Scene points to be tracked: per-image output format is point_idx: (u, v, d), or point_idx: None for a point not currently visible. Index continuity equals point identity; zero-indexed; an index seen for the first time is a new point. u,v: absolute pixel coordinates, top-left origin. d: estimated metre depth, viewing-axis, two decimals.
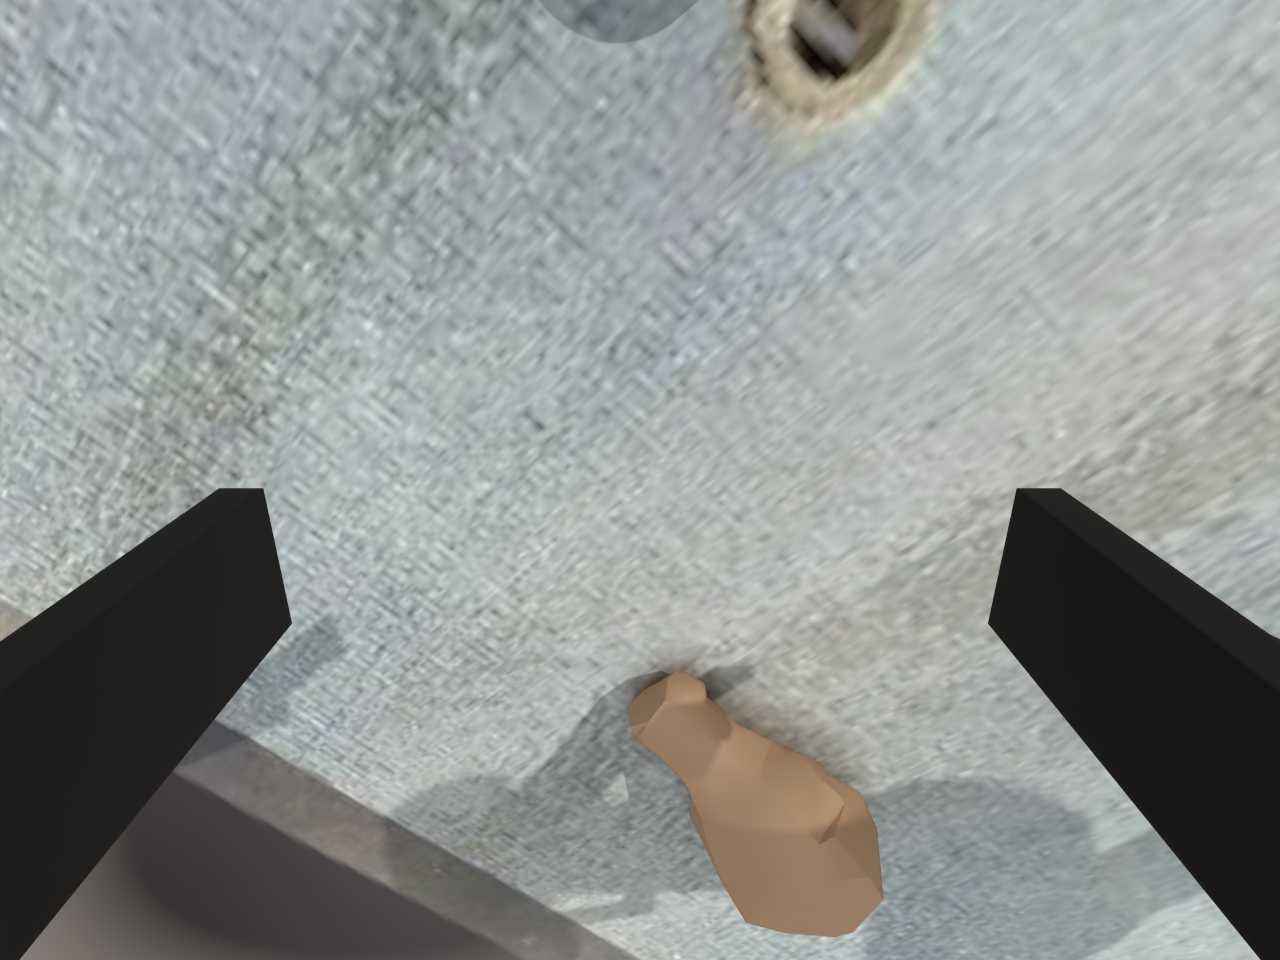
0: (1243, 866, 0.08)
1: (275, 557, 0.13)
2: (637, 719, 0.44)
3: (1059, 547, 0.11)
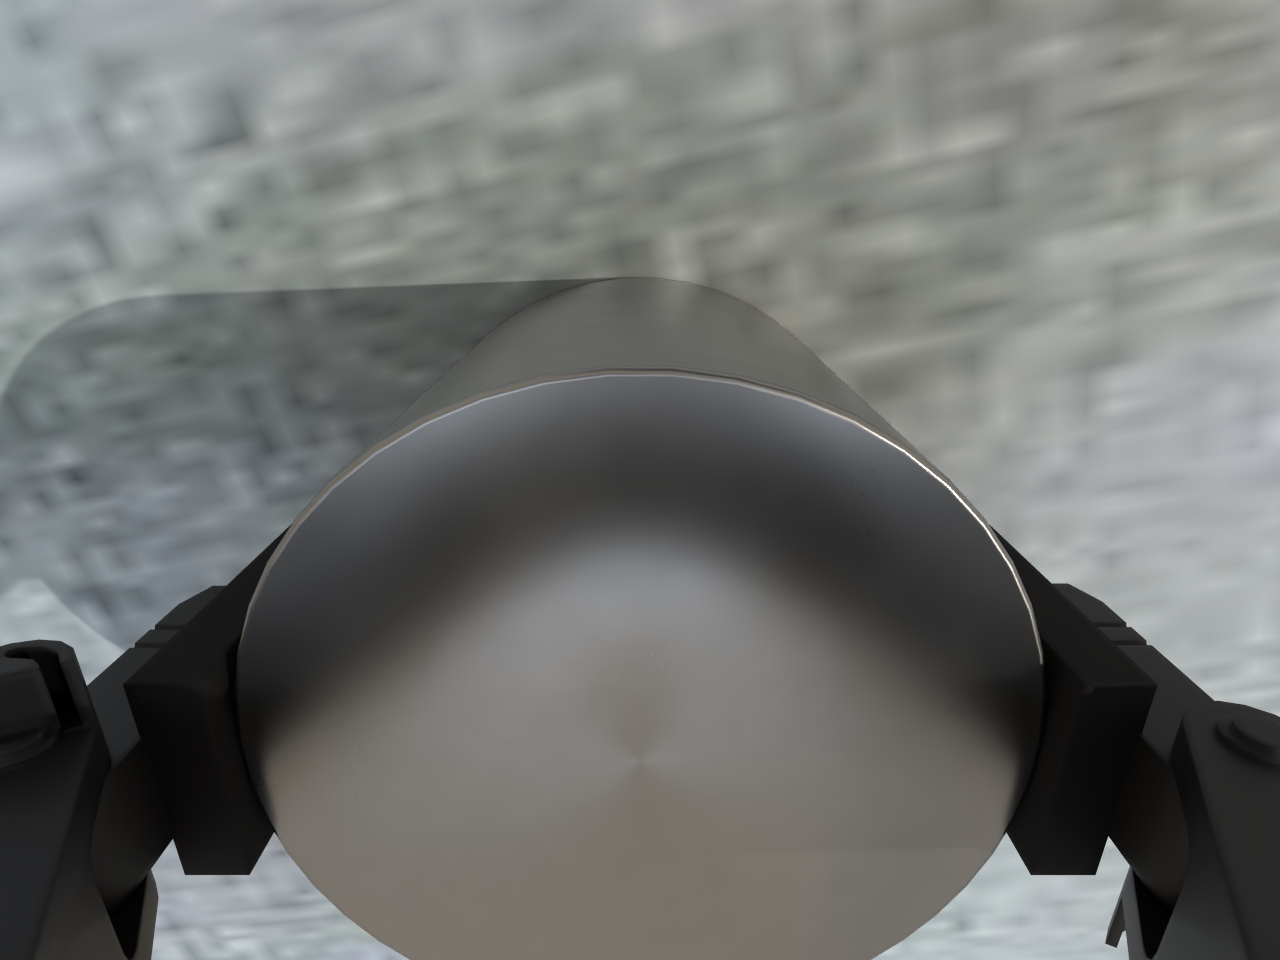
0: None
1: None
2: None
3: None
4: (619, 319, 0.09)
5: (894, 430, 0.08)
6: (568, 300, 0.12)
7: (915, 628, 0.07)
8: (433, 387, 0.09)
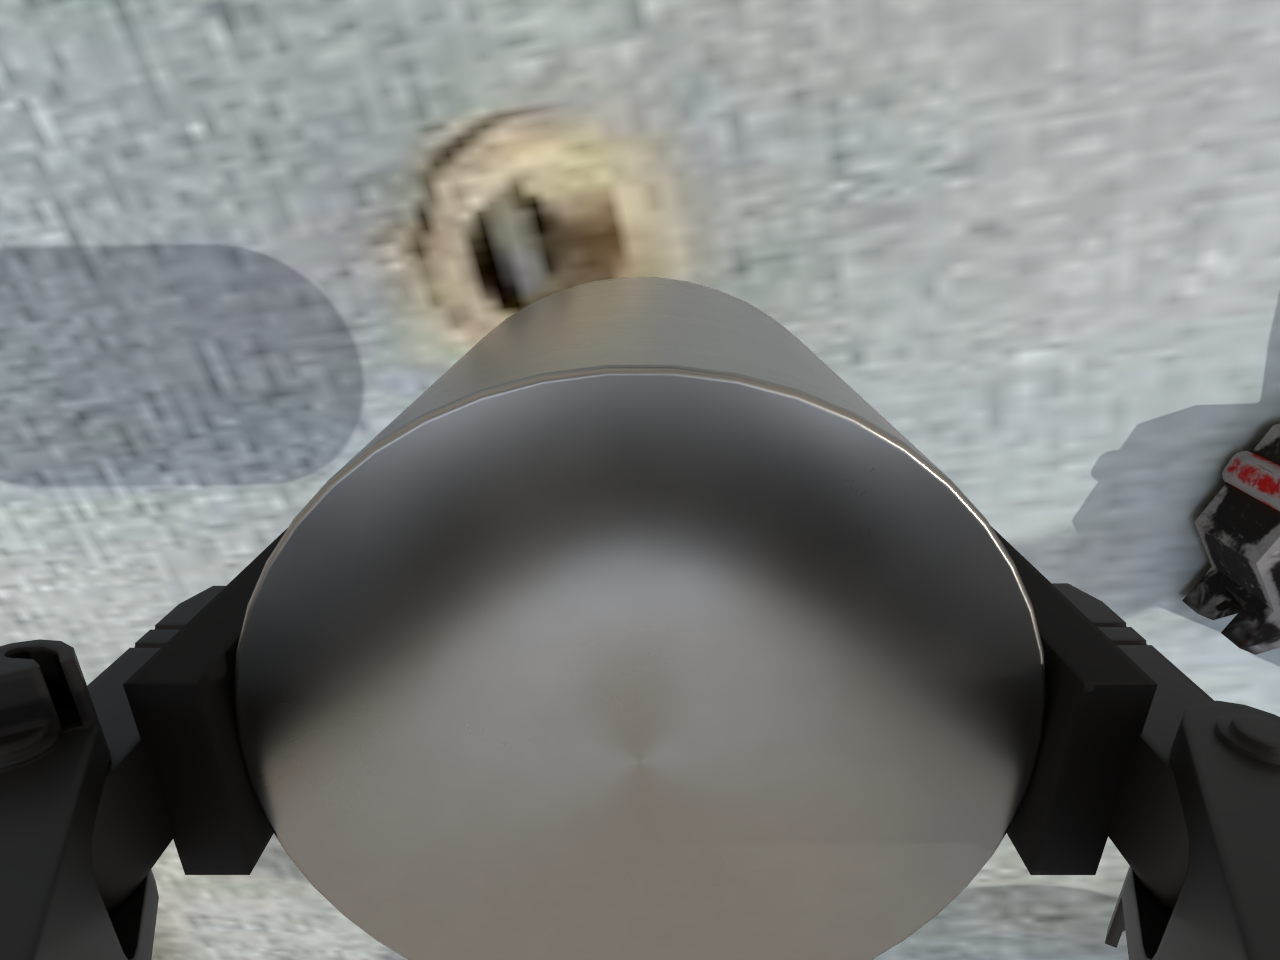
0: None
1: None
2: None
3: None
4: (619, 318, 0.09)
5: (894, 429, 0.08)
6: (568, 299, 0.12)
7: (916, 627, 0.07)
8: (432, 386, 0.09)
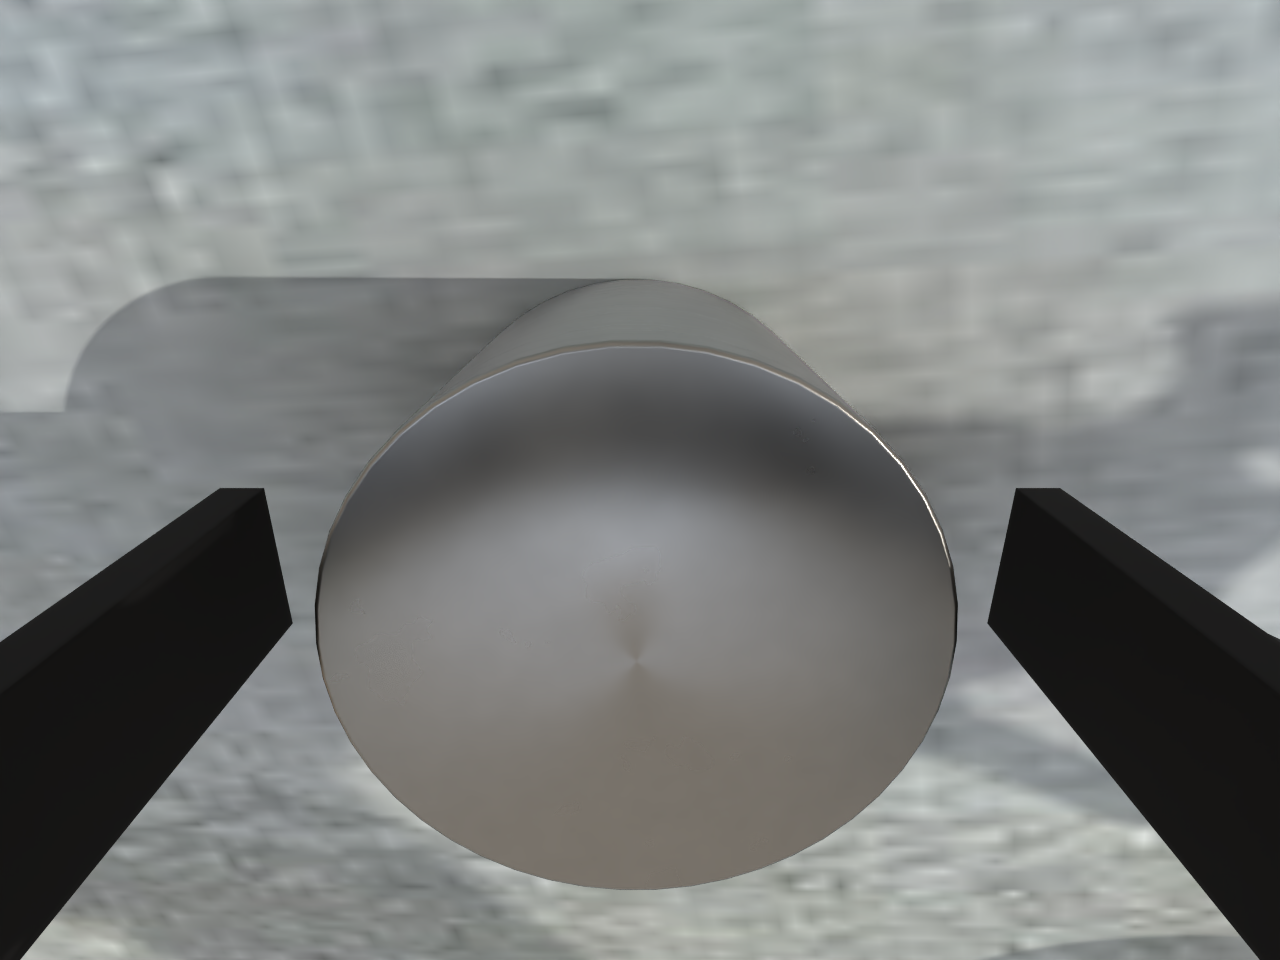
0: (1242, 865, 0.08)
1: (275, 557, 0.13)
2: None
3: (1059, 548, 0.11)
4: (619, 310, 0.11)
5: (837, 395, 0.10)
6: (576, 297, 0.14)
7: (851, 548, 0.10)
8: (468, 366, 0.11)
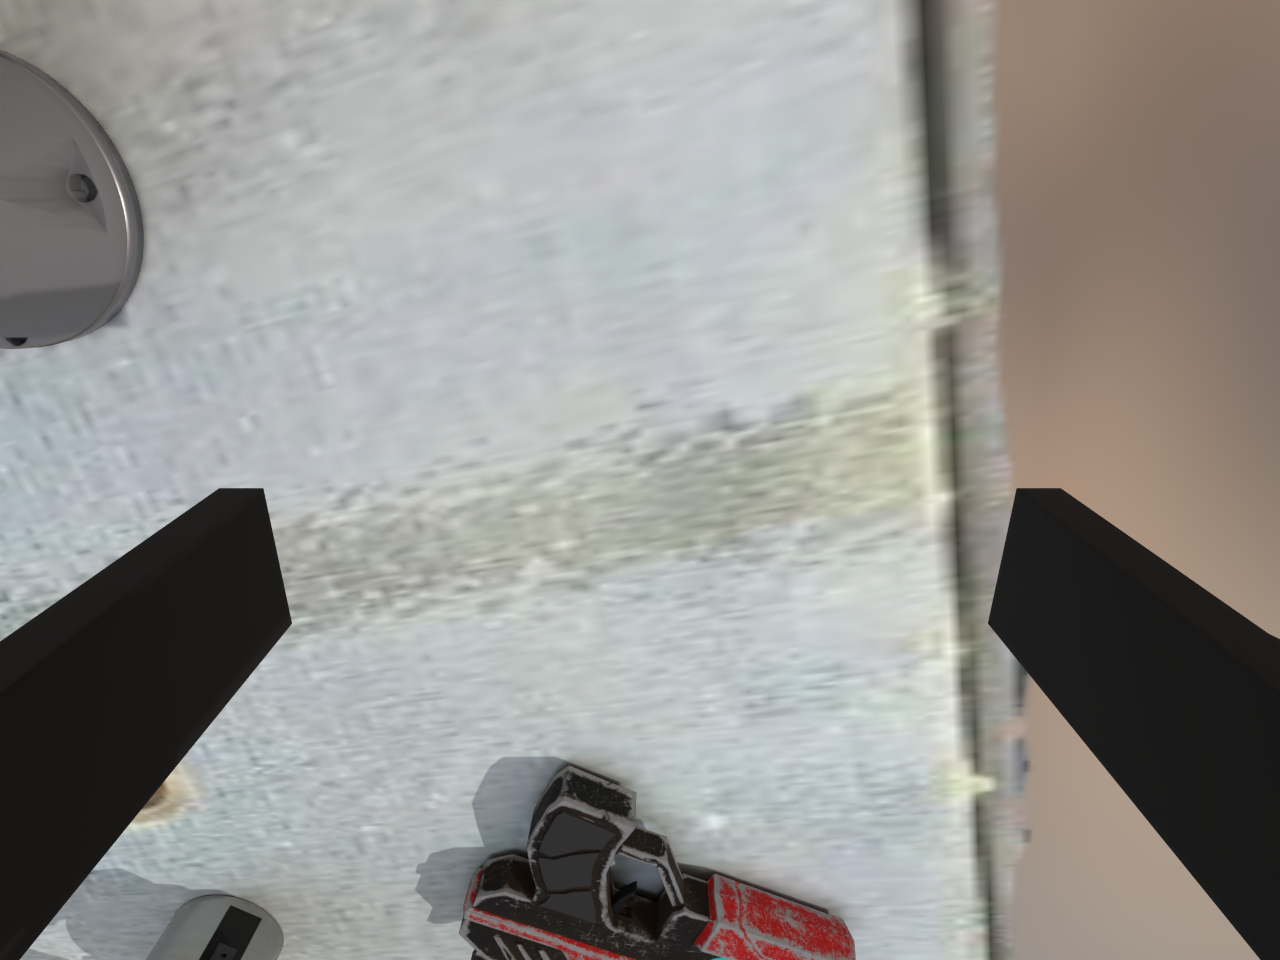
0: (1243, 866, 0.08)
1: (275, 557, 0.13)
2: None
3: (1059, 548, 0.11)
4: (178, 952, 0.54)
5: None
6: (189, 918, 0.57)
7: None
8: None
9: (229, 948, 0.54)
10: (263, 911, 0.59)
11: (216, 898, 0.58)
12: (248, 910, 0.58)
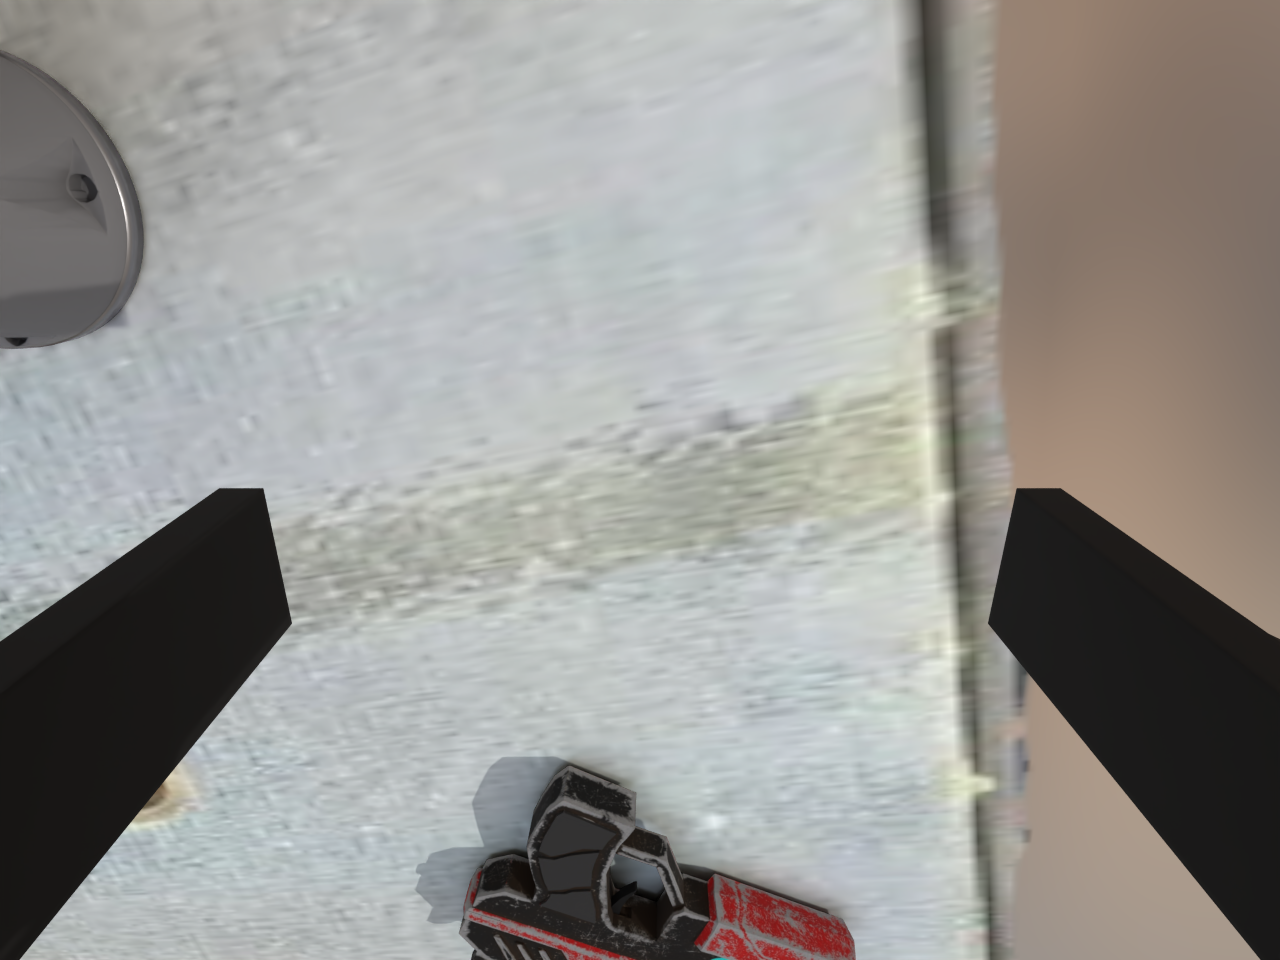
0: (1243, 866, 0.08)
1: (275, 557, 0.13)
2: None
3: (1059, 548, 0.11)
4: None
5: None
6: None
7: None
8: None
9: None
10: None
11: None
12: None
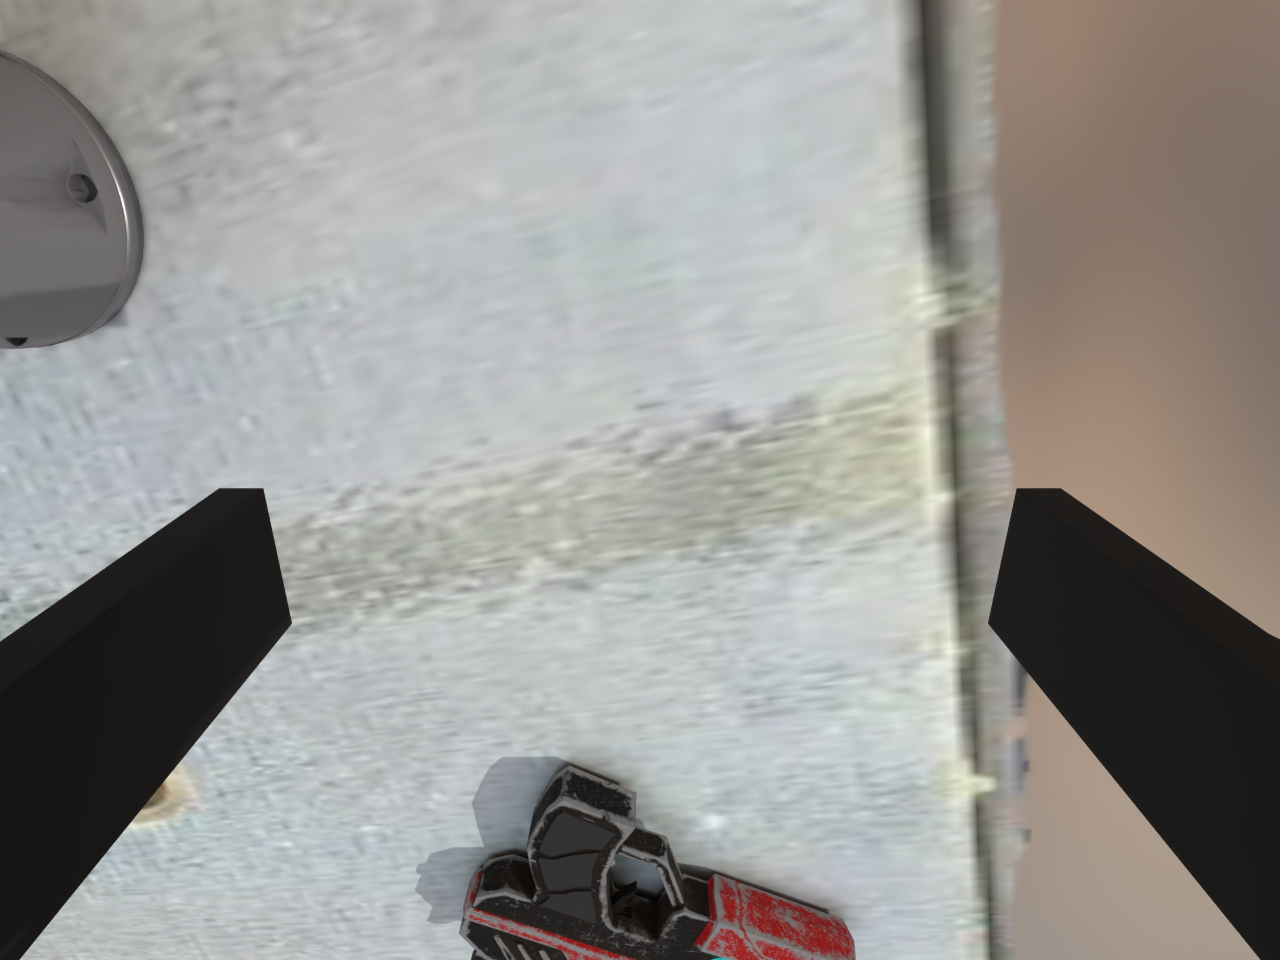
0: (1243, 866, 0.08)
1: (275, 557, 0.13)
2: None
3: (1059, 548, 0.11)
4: None
5: None
6: None
7: None
8: None
9: None
10: None
11: None
12: None
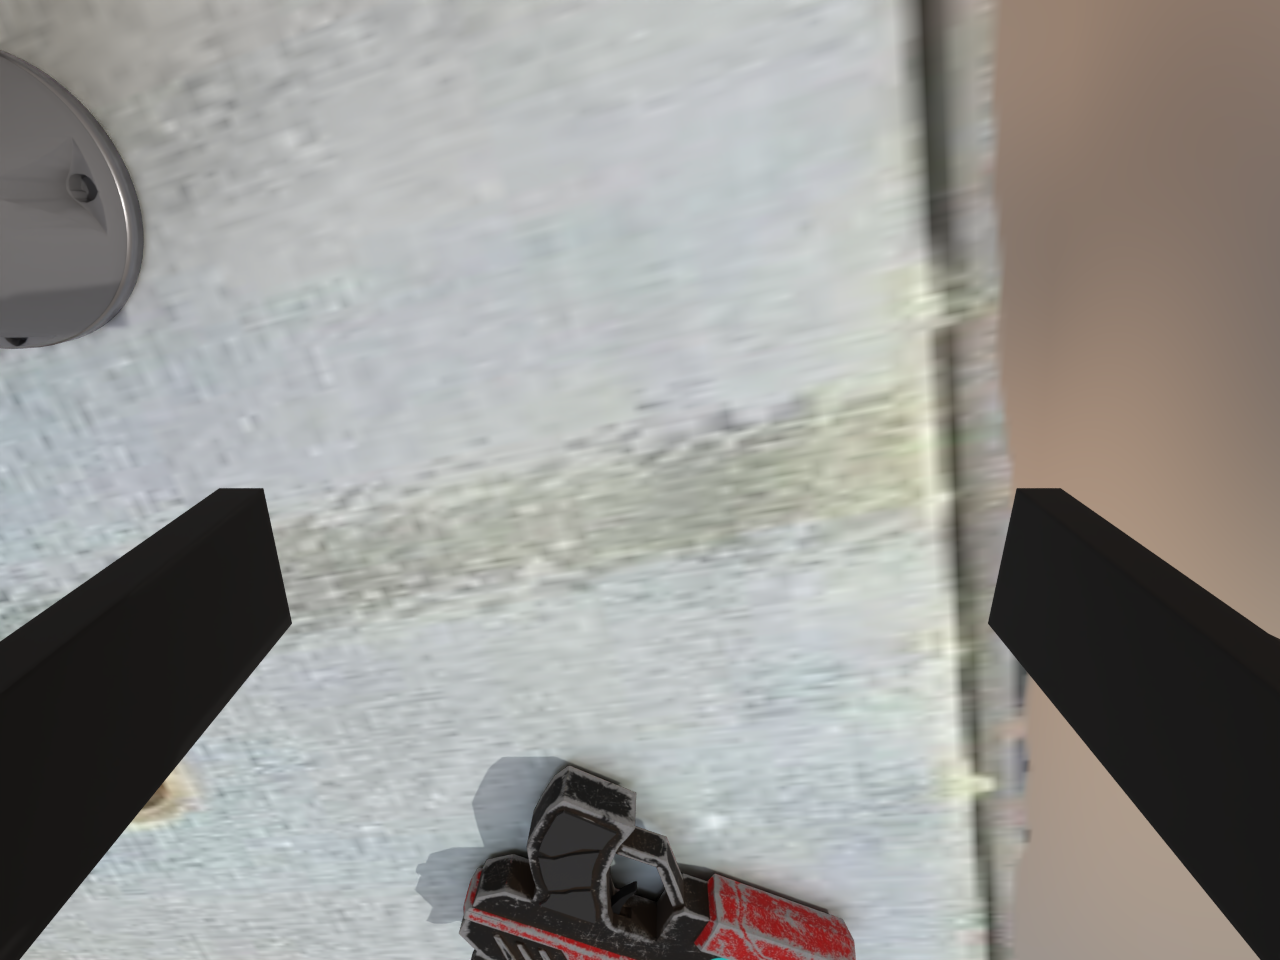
0: (1243, 866, 0.08)
1: (275, 557, 0.13)
2: None
3: (1059, 548, 0.11)
4: None
5: None
6: None
7: None
8: None
9: None
10: None
11: None
12: None
